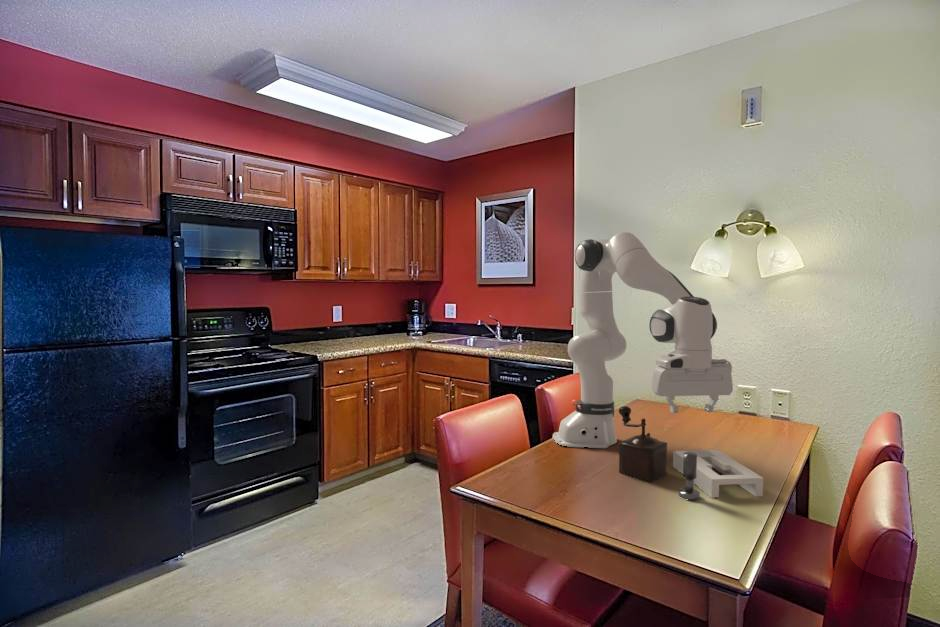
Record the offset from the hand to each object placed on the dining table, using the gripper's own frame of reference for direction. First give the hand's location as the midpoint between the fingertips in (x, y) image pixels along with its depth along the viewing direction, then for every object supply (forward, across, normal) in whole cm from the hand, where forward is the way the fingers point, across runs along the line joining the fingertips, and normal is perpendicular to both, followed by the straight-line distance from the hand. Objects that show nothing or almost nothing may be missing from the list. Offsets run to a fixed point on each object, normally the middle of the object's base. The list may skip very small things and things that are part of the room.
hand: (691, 412), depth 132 cm
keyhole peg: (+23, 0, 0) cm, 23 cm away
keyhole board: (+23, -12, -10) cm, 28 cm away
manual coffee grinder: (+23, +7, -19) cm, 31 cm away
